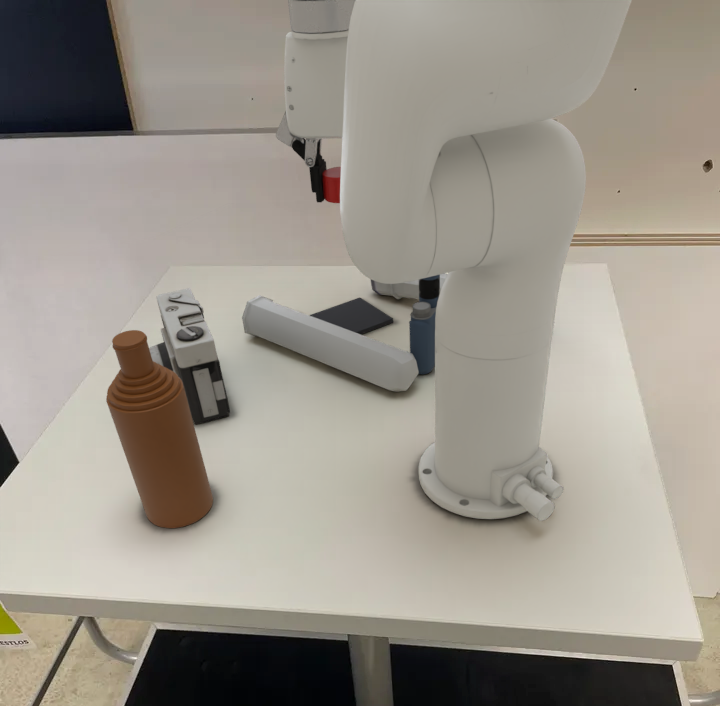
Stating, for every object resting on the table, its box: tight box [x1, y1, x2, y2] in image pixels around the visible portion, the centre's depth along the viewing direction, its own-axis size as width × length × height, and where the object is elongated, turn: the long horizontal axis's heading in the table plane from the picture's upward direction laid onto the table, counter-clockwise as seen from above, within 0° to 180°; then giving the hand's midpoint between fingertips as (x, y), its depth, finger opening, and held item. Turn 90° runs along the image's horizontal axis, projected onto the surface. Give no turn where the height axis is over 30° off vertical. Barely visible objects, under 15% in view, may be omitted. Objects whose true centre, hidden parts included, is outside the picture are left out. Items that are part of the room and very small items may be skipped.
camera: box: [149, 287, 231, 425], centre depth 81 cm, size 14×8×10 cm, turn 20°
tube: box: [241, 294, 419, 393], centre depth 86 cm, size 5×5×25 cm
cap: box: [323, 166, 341, 204], centre depth 84 cm, size 4×4×3 cm
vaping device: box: [408, 275, 440, 375], centre depth 82 cm, size 3×5×12 cm, turn 156°
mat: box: [309, 297, 394, 335], centre depth 95 cm, size 8×8×1 cm
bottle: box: [105, 329, 214, 529], centre depth 63 cm, size 6×6×18 cm
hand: (340, 197), depth 85 cm, fingers closed on cap, 3 cm apart
